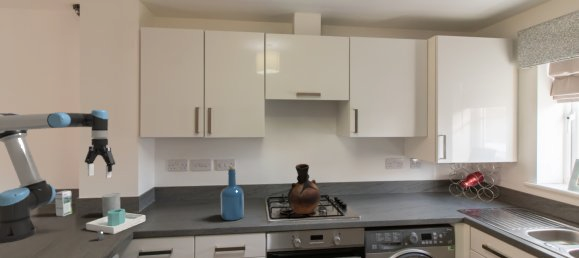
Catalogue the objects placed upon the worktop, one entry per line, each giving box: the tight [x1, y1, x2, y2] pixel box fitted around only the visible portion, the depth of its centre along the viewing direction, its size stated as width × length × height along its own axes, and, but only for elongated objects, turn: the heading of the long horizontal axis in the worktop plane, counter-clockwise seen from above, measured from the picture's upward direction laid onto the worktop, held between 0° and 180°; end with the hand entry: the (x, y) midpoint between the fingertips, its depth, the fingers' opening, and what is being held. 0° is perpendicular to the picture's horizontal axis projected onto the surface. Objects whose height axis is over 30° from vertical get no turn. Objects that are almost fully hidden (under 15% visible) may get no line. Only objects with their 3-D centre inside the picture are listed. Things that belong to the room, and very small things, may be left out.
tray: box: [85, 212, 146, 235], centre depth 159 cm, size 20×20×3 cm
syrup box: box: [54, 190, 73, 217], centre depth 178 cm, size 6×6×14 cm
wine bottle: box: [220, 166, 245, 221], centre depth 169 cm, size 14×13×30 cm
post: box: [96, 230, 104, 241], centre depth 140 cm, size 2×2×4 cm
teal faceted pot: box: [107, 208, 126, 226], centre depth 159 cm, size 8×8×7 cm
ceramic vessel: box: [286, 163, 322, 215], centre depth 175 cm, size 21×18×30 cm
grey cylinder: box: [101, 192, 121, 218], centre depth 177 cm, size 10×10×12 cm
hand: (99, 176), depth 158 cm, fingers open, 13 cm apart
